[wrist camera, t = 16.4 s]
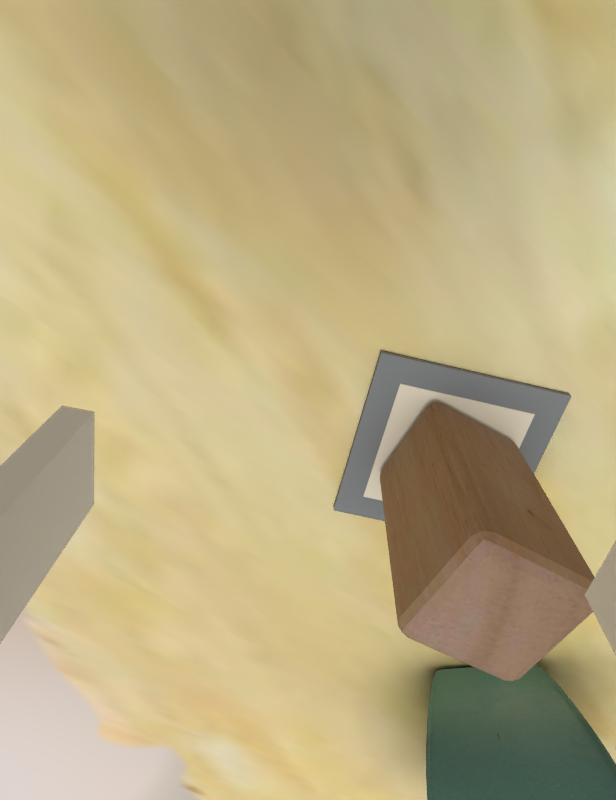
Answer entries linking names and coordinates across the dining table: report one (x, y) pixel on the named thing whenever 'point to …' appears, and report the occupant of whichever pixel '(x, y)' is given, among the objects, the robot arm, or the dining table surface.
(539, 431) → the mat
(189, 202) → the dining table surface
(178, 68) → the dining table surface
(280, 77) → the dining table surface
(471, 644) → the wooden block
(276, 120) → the dining table surface
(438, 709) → the flower pot
